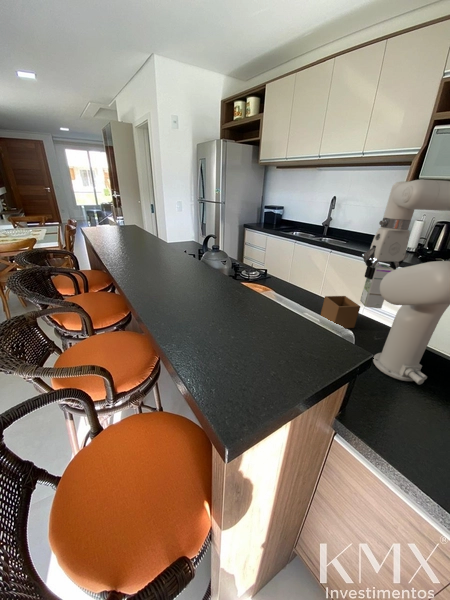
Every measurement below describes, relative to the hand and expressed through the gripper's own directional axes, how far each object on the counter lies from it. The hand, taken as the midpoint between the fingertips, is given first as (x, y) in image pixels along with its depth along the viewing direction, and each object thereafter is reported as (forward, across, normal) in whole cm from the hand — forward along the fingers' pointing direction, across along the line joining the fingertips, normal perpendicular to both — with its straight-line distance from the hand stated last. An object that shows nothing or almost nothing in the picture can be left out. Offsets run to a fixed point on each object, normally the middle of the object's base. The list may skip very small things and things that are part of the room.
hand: (378, 277), depth 85 cm
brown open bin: (+23, -4, +10) cm, 25 cm away
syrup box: (+10, 0, 0) cm, 10 cm away
